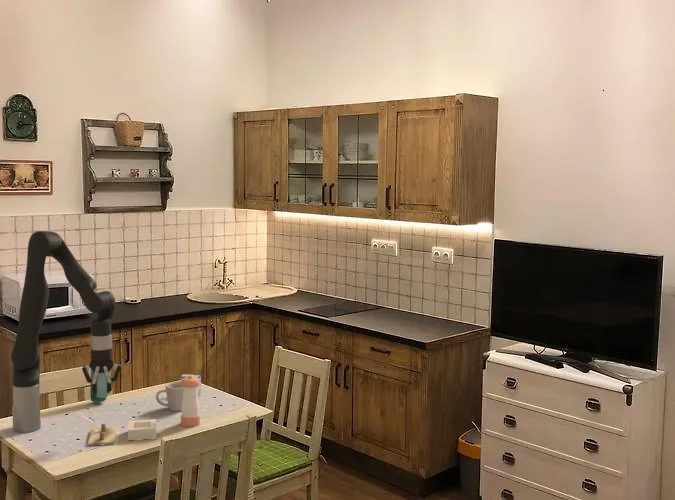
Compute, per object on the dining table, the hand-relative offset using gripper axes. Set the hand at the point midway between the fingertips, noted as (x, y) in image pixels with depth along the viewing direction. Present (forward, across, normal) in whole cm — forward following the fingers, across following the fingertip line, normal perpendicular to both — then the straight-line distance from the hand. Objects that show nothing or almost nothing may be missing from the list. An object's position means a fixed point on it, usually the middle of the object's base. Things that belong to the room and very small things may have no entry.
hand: (102, 392), depth 271 cm
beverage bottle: (+17, +4, -41) cm, 45 cm away
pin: (+1, 0, 0) cm, 1 cm away
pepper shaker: (+17, -32, -9) cm, 37 cm away
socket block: (+17, -14, 0) cm, 22 cm away
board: (+17, 0, 0) cm, 17 cm away
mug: (+17, -26, -28) cm, 42 cm away
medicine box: (+17, -34, -46) cm, 60 cm away
